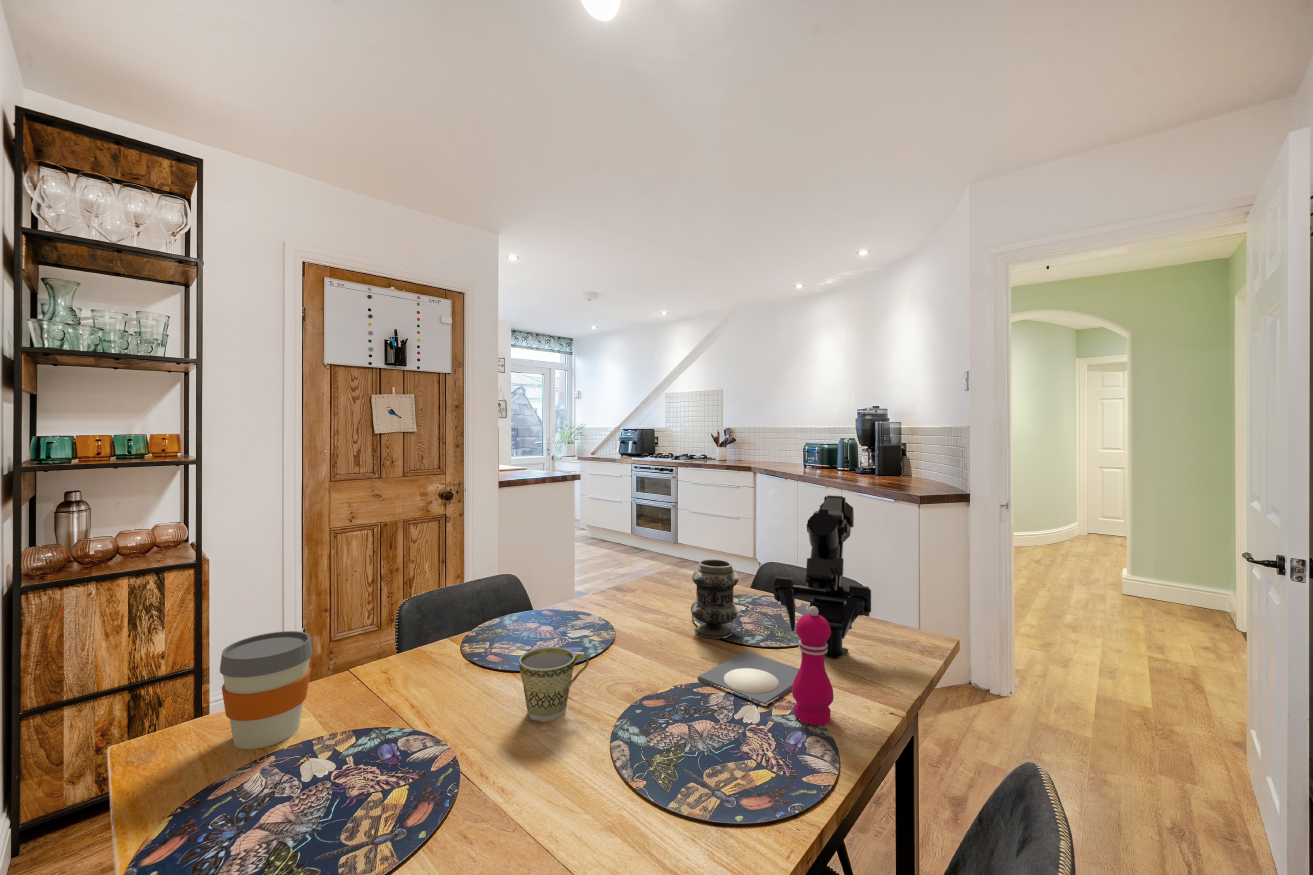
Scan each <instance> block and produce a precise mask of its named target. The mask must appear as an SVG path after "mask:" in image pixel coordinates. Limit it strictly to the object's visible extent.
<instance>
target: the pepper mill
mask: <svg viewBox="0 0 1313 875" xmlns="http://www.w3.org/2000/svg"><path fill="white" fill-rule="evenodd" d="M818 613H819V611H818V609H817V608H816V607H815V606H811V607H810V606H809V608H808V612H807V614H803V615H802V616H800V618H798V619H797V622H796V624H795V631H796V634H797V636H798V637H799V640H798V644H799V645H798V649H799V651H801V653H800V654H801V659H800V660H801V662H800V667H799V671H798V673H797V675H796V677H795V679H794V682H793V686H792V689H791V695H792V698H793V699H794V700H795V703H794V707H793V708H794V709H793V710H794V717H795V716H796V717H797V718H798V719H800V721H802V722H804V723H803V724H805V723H807V724H810V725H809V726H812V725H814V726H815V725H816V726H815V727H820V726H821V727H822V726H826V725H827V724H829V723H830V722H831V707H830V706H831V705H832V703H833V701H834V698H835V697H834V689H833V685H832V683H831V680H830V678H829V676H828V674H827V670H826V666H825V657H826V656H825V654H826V653H827V651H828V650H827V646H828V644H827V643H826V641H827V640H828V639H829V638H830V634H831V629H830V625H829V623H828V621H827V620H826V619H825V618H824V617H822V616H820V615H818ZM796 717H795V718H796ZM797 718H796V719H797ZM798 719H797V720H798ZM800 721H799V722H800ZM802 722H801V723H802ZM807 724H806V725H807ZM814 726H813V727H814Z"/></svg>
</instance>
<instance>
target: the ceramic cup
mask: <svg viewBox="0 0 1313 875" xmlns="http://www.w3.org/2000/svg"><path fill="white" fill-rule="evenodd" d="M581 659H585V660H586V663H585V664H584V666H583V667H582V668H580V670H579V671H578V672H577V673H576V675H575V676H574V677H573V673H574V667H575V665H576V663H577V662H579V660H581ZM589 664H590V660H589V657H588V656H587V655H586V654H585V653H579V654H577V655H575V653H574V652H573V651H571V650H570V649H567V648H564V647H558V646H546V647H539V648H534V649H531V650H529V651H527V652H524V653H523V654H522V655H520V657H519V658H518V665H519V666H518V668H519V673H520V678H521V682H522V685H523V686H522V687H523V693H524V699H525V706H526V707H525V708H526V710H527V711H526V712H527V715H528V716H529V718H530V720H532V721H538V722H541V723H545V722H546V723H547V722H550V721H554V720H555V721H556V720H558V719H560V718H561V717H562V716H563V715H564V714H565V713H566V711H567V706H568V698H569V693H570V688H571V686H572V684H573V683H574V682H575V681H576V680H577V678H579V676H580V675H581V674H582V673H583V672H584V671H585V670H586V669H587V668H588V666H589Z"/></svg>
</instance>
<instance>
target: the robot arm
mask: <svg viewBox="0 0 1313 875" xmlns="http://www.w3.org/2000/svg"><path fill="white" fill-rule="evenodd" d="M823 499H824V500H823V502H822V503H821V504H820V505H819V509H818V510H817V511H814V512H813V514H812V515H811V516H810V517H809V518H808V519H807V523H806V531H807V532H806V533H808V537H809V538H808V539H809V544H810V546H811V552H810V557H808V558H806V568H805V583H806V586H805V585H796V584H795V580H794V578H793V577H785V576H776V577H774V578H773V580H772V583H771V584H772V585H771V589H772V592H773V597H774V600H775V601H777V602H780V605H782V606H785V608H786V610H787V614H788V619H789V625H790V629H791V630H790V631H791V632H795V629H796V601H795V600H796V596H799V597H807V598H813V599H810V600H809V601H810V602H809V608H810V607H811V606H815V607H816V608H817V609H818V611H819V613H818V615H820V616H822V617H824V618H825V619H826V620H827V621H828V623H829V625H830V629H831V634H830V638H829V639H828V640H827V641H826V643H827V644H828V646H827V650H828V651H827V653H826V654H825V657H829V658H831V659H834V660H837V659H839V658H840V657H842V656H843V655H845V654H847V653H848V652H849V649H848V648H845V647H843V640H844V639H845V637H846V636H847V633H848V632H849V630H852V625H853V623H854V622H855V620H856V619H857V618H858V617H859V616H860V617H863V616H864V615H865V613H866V614H869V613H872V590H871V588H870V587H869V586H865V585H855V584H849V588H848V591H847V590H845V589H844V587H843V586H841V582H842V580H841V579H842V577H843V576H844V560H845V559H844V558H843V556H844V555H843V552H844V542H846V540H848V539H849V538H850V537H851V530H852V528H854V525H855V522H854V520H855V517H854V516H855V515H854V514H855V513H854V506H851V505H850V504H849V503H848V502H847V501H846V497H844V496H843V495H827V496H826V495H825V496H824V498H823Z"/></svg>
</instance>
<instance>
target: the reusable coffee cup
mask: <svg viewBox="0 0 1313 875" xmlns="http://www.w3.org/2000/svg"><path fill="white" fill-rule="evenodd" d="M311 656H313V644H312V637H311V635H310V634H309V633H308V632H303V631H299V630H295V631H294V630H289V631H288V630H287V631H284V630H283V631H275V632H274V631H273V632H269V633H262V634H257V635H253V636H249V637H247V638H242V639H241V640H238V641H235V642H233V643H231V644H229V645H227V646H226V647H225V648H223V650H222V652H221V659H220V663H219V664H220V665H219V673H220V674H221V675H222V676H223V685H222V686H221V692H222V699H223V705H224V712H225V716H226V717H227V718H228V719H229V721H230V728H231V734H232V741H233V746H234V747H236V748H237V749H242V750H257V749H261V748H268V747H271V746H273V745H276V744H279V743H281V742H283V741H286V740H287V739H289V738H290V737H292V736H293V735H295V734H296V733H297V732H298V731H299V729H300V724H301V717H302V711H303V704H304V701H305V700H306V699H307V697H308V696H307V694H308V691H309V690H308V688H309V682H310V677H311V676H310V675H311V668H310V666H309V665H310V658H311Z"/></svg>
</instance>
